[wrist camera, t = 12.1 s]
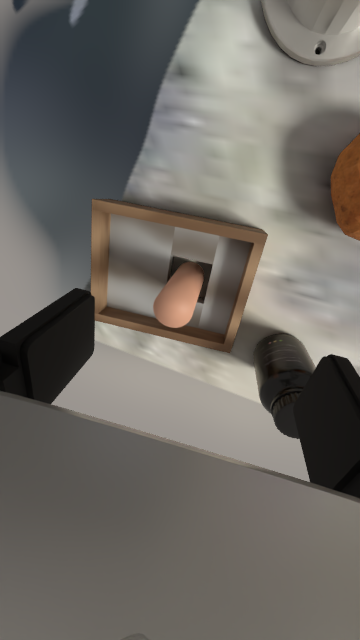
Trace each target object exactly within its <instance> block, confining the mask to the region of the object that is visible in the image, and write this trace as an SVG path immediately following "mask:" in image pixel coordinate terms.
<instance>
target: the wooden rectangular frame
mask: <svg viewBox="0 0 360 640" xmlns="http://www.w3.org/2000/svg"><path fill="white" fill-rule="evenodd" d="M267 236H268V234H267V233H266V232H265V231H263V230H262V229H257V228H252V227H247V226H242V225H237V224H232V223H227V222H222V221H217V220H212V219H207V218H202V217H197V216H192V215H187V214H182V213H177V212H172V211H167V210H162V209H157V208H152V207H147V206H142V205H137V204H133V203H128V202H123V201H118V200H112V199H92V234H91V240H92V241H91V294H92V296H94V297H95V321H100V322H104V323H108V324H112V325H116V326H120V327H124V328H128V329H132V330H136V331H141V332H145V333H149V334H153V335H157V336H161V337H165V338H169V339H173V340H177V341H182V342H186V343H190V344H194V345H198V346H202V347H206V348H210V349H214V350H218V351H223V352H227V353H230V352H231V349H232V346H233V343H234V340H235V337H236V334H237V330H238V327H239V324H240V321H241V318H242V315H243V312H244V308H245V305H246V302H247V299H248V296H249V293H250V289H251V286H252V283H253V280H254V277H255V274H256V271H257V267H258V264H259V261H260V258H261V255H262V252H263V248H264V245H265V242H266V239H267ZM173 256H176V257H181V258H186V259H190V260H195V261H200V262H204V263H209V264H213V266H212V271H211V275H210V279H209V283H208V288H207V292H206V296H205V298H202V297H198V299H197V303H196V306H195V309H194V312H193V315H192V318H191V319H190V321H189V322H188V323H187V324H186V325H184V326H182V327H178V328H172V327H168V326H165V325H163V324H162V323H161V322H159V321H158V319H157V318H156V316H155V314H154V311H153V304H154V300H155V299H156V297H157V296H158V294H159V293H160V292H161V290H162V289H163V288H164V286H165V285H166V284H167V282H168V281H169V280H170V275H171V268H172V262H173Z"/></svg>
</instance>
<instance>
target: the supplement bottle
mask: <svg viewBox="0 0 360 640" xmlns="http://www.w3.org/2000/svg"><path fill="white" fill-rule="evenodd" d="M254 366H255V372H256V378H257V385H258V391H259V396H260V400H261V403H262V405H263V406H264V407H265V409H266V410H267V411H269V413H271V414H272V416H273V418H274V422H275V425H276V427H277V429H278V430H280V432H281V433H283V434H284V435H287V436H288V437H292V438H297V439H300V438H299V434H298V430H297V426H296V422H295V418H294V414H293V407H294V404H295V402H296V400H297V399H298V397H299V395H300V394H301V392H302V390H303V389H304V387H305V385H306V384H307V382H308V380H309V379H310V377H311V375H312V374H313V372H314V370H315V369H316V367H315V365H314V363H313V361H312V359H311V358H310V356H309V354H308V352H307V350H306V348H305V347H304V345H303V344H302V343H301V341H299V340H298V339H297V338H295V337H293V336H290V335H287V334H275V335H271V336H268V337H266V338H264V339H263V340H262V341H260V342H259V344H258V345H257V346H256V348H255V351H254Z"/></svg>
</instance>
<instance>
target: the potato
mask: <svg viewBox="0 0 360 640" xmlns="http://www.w3.org/2000/svg"><path fill="white" fill-rule="evenodd" d="M331 197H332V201H333V206H334V210H335V215H336V221H337V224H338V225H339V226H340V228H341V229H342V231H343V232H344V234H345V235H348V236H350V237H352V238H355V239H357V240H359V241H360V133H359V134H358V136H357V137H356V138H355V139H354V140H353V141H352V142H351V143H350V144H349V145H348V146H347V147H346V148H345V149H344V150H343V151H342V152H341V153H340V155H339V156H338V159H337V161H336V164H335V167H334V169H333V172H332V175H331Z"/></svg>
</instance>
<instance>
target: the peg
mask: <svg viewBox="0 0 360 640" xmlns="http://www.w3.org/2000/svg"><path fill="white" fill-rule="evenodd" d="M203 281H204V271H203V269H202V268H201V266H200V265H198V264H197V263H194V262H185V263H183V264H182V265H180V266H179V268H178V269H177V270H176V272H175V273H174V274H173V276H172V277H171V278H170V280H169V281H168V282H167V284H166V285H165V286H164V288H163V289H162V290H161V292H160V293H159V294H158V296H157V297H156V299H155V300H154V304H153V311H154V314H155V316H156V318H157V319H158V321H159V322H161V323H162V324H163V325H165V326H168V327H172V328H178V327H182V326H184V325H186V324H187V323H188V322H189V321H190V319H191V318H192V315H193V312H194V309H195V306H196V303H197V299H198V296H199V293H200V290H201V287H202V284H203Z"/></svg>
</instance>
